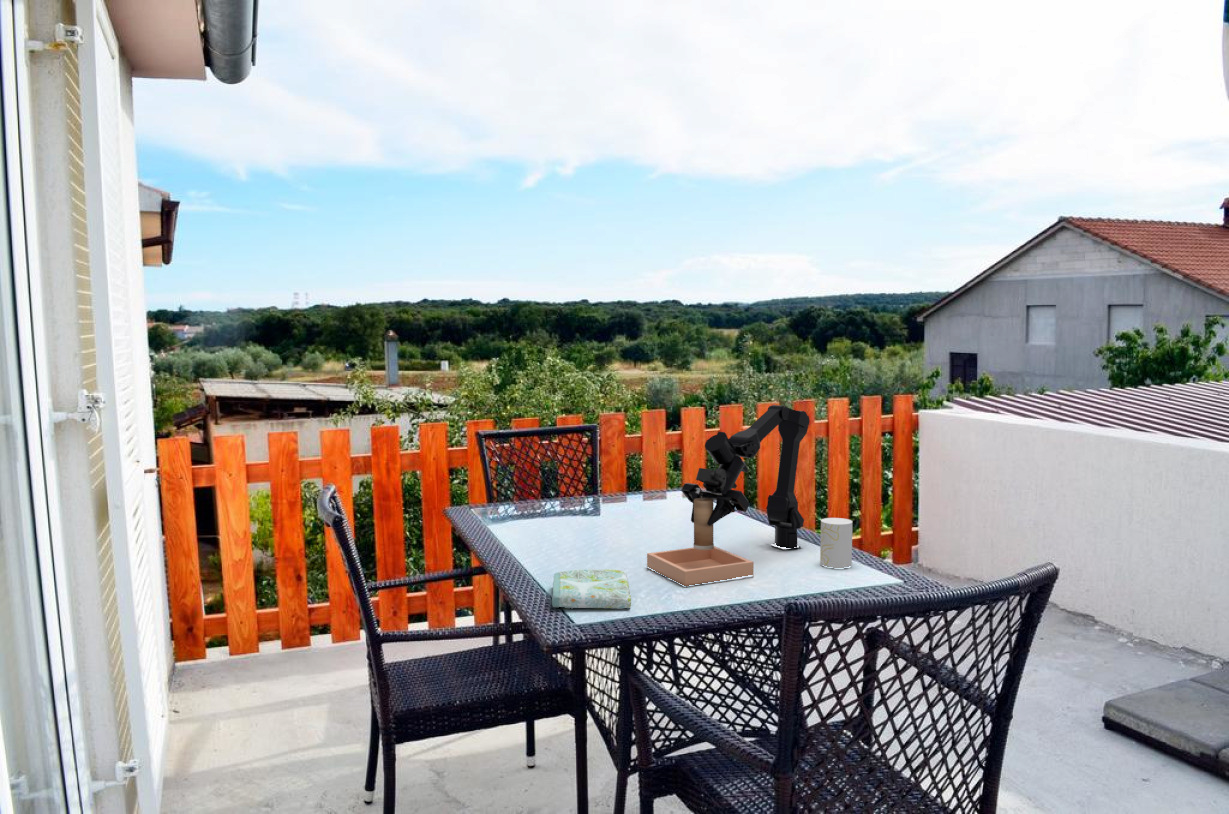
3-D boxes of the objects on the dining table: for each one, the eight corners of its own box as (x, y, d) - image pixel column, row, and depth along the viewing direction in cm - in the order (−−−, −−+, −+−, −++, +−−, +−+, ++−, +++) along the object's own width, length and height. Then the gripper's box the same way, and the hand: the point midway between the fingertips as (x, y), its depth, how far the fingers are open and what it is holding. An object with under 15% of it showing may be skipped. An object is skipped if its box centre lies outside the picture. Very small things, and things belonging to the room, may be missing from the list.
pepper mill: (694, 544, 244) (694, 497, 243) (714, 545, 243) (714, 498, 242) (692, 549, 239) (692, 501, 238) (712, 550, 238) (712, 502, 237)
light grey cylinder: (814, 563, 251) (814, 519, 250) (840, 560, 254) (840, 516, 253) (831, 570, 244) (832, 525, 242) (857, 567, 246) (858, 522, 245)
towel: (628, 585, 232) (628, 565, 232) (631, 612, 211) (631, 590, 211) (554, 586, 232) (554, 566, 232) (550, 613, 211) (550, 591, 210)
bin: (647, 568, 247) (647, 553, 247) (711, 559, 256) (712, 545, 255) (685, 587, 229) (685, 571, 229) (753, 577, 238) (753, 561, 237)
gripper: (685, 452, 248) (658, 500, 241) (742, 459, 235) (715, 510, 228) (704, 478, 255) (678, 524, 248) (760, 486, 242) (734, 535, 235)
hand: (700, 523), depth 240 cm, fingers closed on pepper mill, 5 cm apart
